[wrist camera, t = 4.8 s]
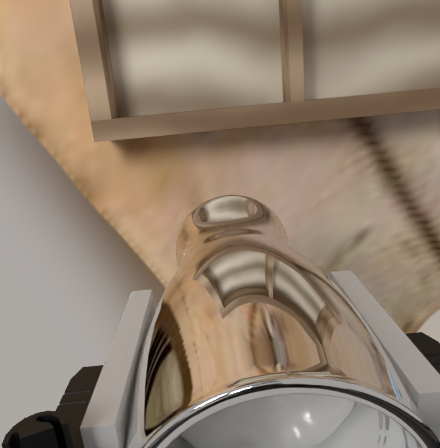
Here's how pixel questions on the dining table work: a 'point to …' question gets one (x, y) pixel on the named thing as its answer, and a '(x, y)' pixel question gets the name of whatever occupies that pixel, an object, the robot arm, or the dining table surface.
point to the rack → (252, 62)
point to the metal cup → (262, 349)
